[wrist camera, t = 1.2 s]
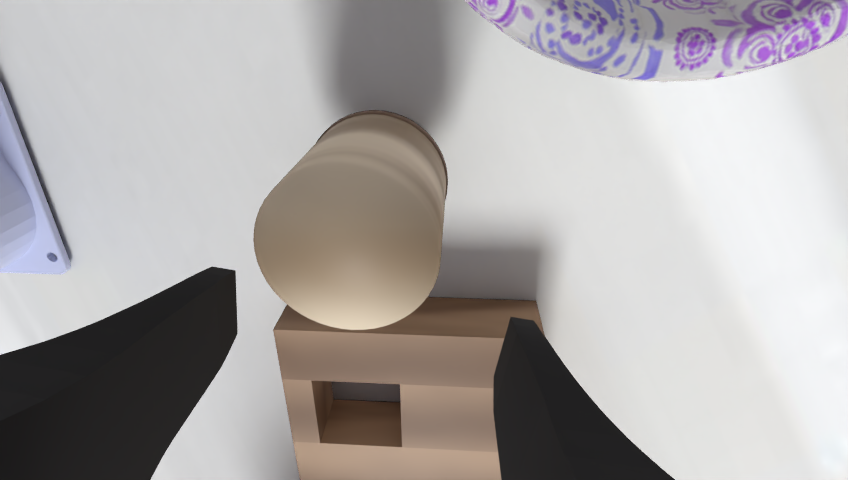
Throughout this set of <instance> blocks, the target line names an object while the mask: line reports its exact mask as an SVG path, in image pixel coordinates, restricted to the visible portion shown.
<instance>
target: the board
mask: <svg viewBox="0 0 848 480" xmlns="http://www.w3.org/2000/svg"><path fill="white" fill-rule="evenodd" d="M510 317H516V318H522V319H528V320H534V321H535V323H536V324H537V326H538V327H539V329H540V330H541V332H542V333H543V335H544V331H543V327H542V323H541V319H540V315H539V311H538V307H537V302H536V301H529V300H499V299H468V298H438V297H427V298H426V299H425V301H424V302H423V303H422V304H421V305H420V306H419V307H418V308H417V309H416V310H415V311H413V312H412V313H411V314H409V315H408V316H406V317H405V318H403V319H401V320H399V321H397V322H395V323H392V324H389V325H387V326H383V327H379V328H374V329H366V330H349V329H340V328H335V327H330V326H327V325H324V324H320V323H318V322H316V321H313V320H311V319H309V318H307V317H305V316H303V315H301V314H300V313H298V312H297V311H295V310H294V309H292V308H291V307H290V306H288V305H287V306H286V307H285V309H284V311H283V313H282V315H281V317H280V318H279V320H278V322H277V324H276V326H275V327H274V329H273V331H274V336H275V342H276V348H277V353H278V359H279V365H280V370H281V376H282V381H283V387H284V393H285V398H286V404H287V410H288V415H289V421H290V426H291V432H292V438H293V443H294V449H295V454H296V460H297V466H298V471H299V477H300V480H501V472H500V463H499V455H498V447H497V439H496V430H495V422H494V413H493V385H494V373H495V370H496V366H497V363H498V359H499V356H500V352H501V349H502V345H503V342H504V338H505V335H506V331H507V328H508V324H509V320H510ZM544 336H545V335H544ZM332 381H335V382H358V383H380V384H400V402H401V403H399V402H377V401H356V400H334V398H333V390H332Z"/></svg>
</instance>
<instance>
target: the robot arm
mask: <svg viewBox="0 0 848 480" xmlns="http://www.w3.org/2000/svg"><path fill="white" fill-rule="evenodd" d="M0 114H1V115H0V272H1V273H32V274H64V273H65V272H66V271H68V270H69V269H70V267H71V264H70V261H69V258H68V255H67V253H66V250H65V247H64V245H63V242H62V240H61V237H60V234H59V232H58V229H57V226H56V224H55V221H54V219H53V216H52V213H51V211H50V208H49V206H48V203H47V200H46V198H45V195H44V192H43V190H42V187H41V185H40V182H39V179H38V177H37V174H36V171H35V169H34V166H33V164H32V161H31V158H30V156H29V153H28V150H27V148H26V145H25V143H24V140H23V137H22V135H21V132H20V129H19V127H18V124H17V122H16V119H15V116H14V114H13V111H12V108H11V106H10V103H9V101H8V98H7V95H6V93H5V90H4V87H3V85H2V83H1V82H0ZM53 253H54V254H55V255H56V256H57V257H56V256H54V254H53ZM236 335H237V306H236V276H235V270H229V269H223V268H217V267H210V268H208V269H206V270H204V271H201V272H199V273H197V274H195V275H193V276H191V277H189V278H187V279H185V280H184V281H182V282H180V283H178V284H176V285H174V286H172V287H170V288H168V289H166V290H164V291H162V292H160V293H158V294H156V295H154V296H152V297H150V298H148V299H146V300H144V301H142V302H140V303H138V304H136V305H133V306H131V307H129V308H127V309H125V310H122V311H120V312H118V313H116V314H114V315H111V316H109V317H107V318H105V319H103V320H100V321H98V322H95V323H93V324H91V325H88V326H86V327H83V328H81V329H78V330H75V331H73V332H70V333H67V334H64V335H62V336H59V337H56V338H53V339H50V340H48V341H45V342H41V343H38V344H35V345H32V346H28V347H25V348H22V349H19V350H15V351H12V352H9V353H5V354H2V355H0V480H150V479H151V477H152V475H153V474H154V472H155V470H156V468H157V466H158V464H159V462H160V460H161V459H162V457H163V455H164V453H165V452H166V450H167V448H168V447H169V445H170V443H171V442H172V440H173V439H174V437H175V436H176V434H177V433H178V431H179V430H180V428H181V427H182V425H183V424H184V422H185V421H186V419H187V418H188V416H189V415H190V413H191V412H192V410H193V409H194V407H195V406H196V404H197V403H198V401H199V400H200V398H201V397H202V395H203V394H204V392H205V391H206V389H207V388H208V386H209V385H210V383H211V382H212V380H213V379H214V377H215V376H216V374H217V373H218V371H219V370H220V368H221V366H222V364H223V362H224V361H225V359H226V357H227V355H228V353H229V350H230V348H231V346H232V344H233V342H234V340H235V338H236ZM493 413H494V422H495V430H496V439H497V447H498V455H499V463H500V472H501V480H675V479H673V478H672V477H671V476H670V475H669V474H667V473H666V472H665V471H664V470H663V469H661V468H660V467H659V466H658V465H657V464H656V463H655V462H653V461H652V460H651V459H650V458H649V457H648V456H647V455H645V454H644V453H643V452H642V451H641V450H640V449H639V448H638V447H637V446H636V445H635V444H633V443H632V442H631V441H630V440H629V439H628V438H627V437H626V436H625V435H624V434H623V433H622V432H621V431H620V430H619V429H618V428H617V427H616V426H615V425H614V424H613V423H612V421H611V420H610V419H609V418H608V417H607V416H606V415H605V414H604V413H603V412H602V411H601V410H600V409H599V407H598V406H597V405H596V404H595V403H594V402H593V400H592V399H591V398H590V397H589V396H588V394H587V393H586V392H585V391H584V390H583V388H582V387H581V386H580V385H579V383H578V382H577V381H576V380H575V378H574V377H573V376H572V374H571V373H570V372H569V370H568V369H567V368H566V366H565V365H564V364H563V362H562V361H561V359H560V358H559V356H558V355H557V354H556V352H555V351H554V349H553V348H552V346H551V345H550V343H549V342H548V340H547V339H546V337H545V336H544V335H543V333H542V332H541V330H540V329H539V327H538V326H537V324H536V323H535V321H534V320H528V319H522V318H516V317H510V320H509V324H508V328H507V331H506V335H505V338H504V342H503V345H502V349H501V352H500V356H499V359H498V363H497V366H496V370H495V373H494V385H493Z"/></svg>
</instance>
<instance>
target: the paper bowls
mask: <svg viewBox="0 0 848 480" xmlns="http://www.w3.org/2000/svg"><path fill="white" fill-rule="evenodd" d="M465 1H466V2H467V3H468V4H469V5H470V6H471V7H472V8H473V9H474V10H475V11H476V12H478V13H479V14H480V15H481V16H482V17H484V18H485V19H486V20H487V21H489V22H490V23H491V24H493V25H495V26H496V27H497V28H498V29H500V30H501V31H502V32H504V33H505V34H507V35H508V36H510V37H511V38H513V39H514V40H515V41H517V42H519V43H520V44H522V45H524V46H525V47H527V48H529V49H531V50H533V51H535V52H537V53H539V54H541V55H543V56H545V57H547V58H550V59H554V60H557V61H559V62H561V63H564V64H567V65H570V66H573V67H575V68H578V69H581V70H584V71H588V72H592V73H596V74H600V75H604V76H609V77H614V78H620V79H626V80H634V81H658V82H667V81H692V80H708V79H715V78H719V77H726V76H731V75H737V74H740V73H743V72H748V71H754V70H757V69H760V68H764V67H768V66H771V65H774V64H778V63H781V62H784V61H787V60H790V59H793V58H795V57H798V56H803V55H805V54H807V53H809V52H811V51H813V50H816V49H819V48H821V47H824V46H827V45H829V44H831V43H833V42H836V41H838V40H840V39H842V38H844V37H846V36H848V0H465Z"/></svg>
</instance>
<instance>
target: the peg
mask: <svg viewBox="0 0 848 480" xmlns="http://www.w3.org/2000/svg"><path fill="white" fill-rule="evenodd" d="M447 185H448V177H447V168H446V164H445V161H444V158H443V155H442V153H441V151H440V149H439V147H438V145H437V144H436V142H435V141H434V139H433V138H432V137H431V136H430V135H429V134H428V133H427V132H426V131H425V130H424V129H423V128H422V127H421V126H419V125H418V124H416V123H415V122H414V121H412V120H410V119H408V118H406V117H404V116H402V115H399V114H396V113H392V112H388V111H380V110H369V111H361V112H356V113H353V114H350V115H348V116H346V117H344V118H342V119H340V120H338V121H337V122H335V123H334V124H333V125H331V126H330V127H329V128H328V129H327V130H326V131H325V132H324V133H323V134H322V136H321V137H320V138H319V139H318V141H317V142H316V144H315V145H314V146H313V147H312V148H311V149H310V150H309V151H308V152H307V153H306V154H305V156H304V157H303V158H302V159H301V160H300V161H299V162H298V163H297V164H296V165H295V166H294V167H293V168H292V169H291V170H290V172H289V173H288V174H287V175H286V176H285V177H284V178H283V179H282V180H281V181H280V182H279V183H278V184H277V185H276V186H275V187H274V189H273V190H272V191H271V192H270V193H269V195H268V196H267V197H266V199H265V200H264V202H263V204H262V206H261V207H260V209H259V212H258V215H257V218H256V222H255V227H254V249H255V254H256V258H257V262H258V264H259V267H260V269H261V272H262V274H263V276H264V277H265V279H266V281H267V283H268V284H269V285H270V287H271V288H272V289H273V291H274V292H275V293H276V294H277V295H278V296H279V297H280V298H281V299H282V300H283V301H284V302H285V303H286V304H287V305H288V306H290V307H291V308H292V309H294V310H295V311H297V312H298V313H300V314H301V315H303V316H305V317H307V318H309V319H311V320H313V321H316V322H318V323H320V324H324V325H327V326H330V327H335V328H340V329H349V330H366V329H374V328H379V327H383V326H387V325H389V324H392V323H395V322H397V321H399V320H401V319H403V318H405V317H406V316H408V315H409V314H411V313H412V312H413V311H415V310H416V309H417V308H418V307H419V306H420V305H421V304H422V303H423V302H424V301H425V299H426V298H427V297H428V295H429V294H430V292H431V290H432V289H433V287H434V285H435V282H436V280H437V277H438V273H439V269H440V260H441V248H442V234H443V221H444V207H445V199H446V195H447Z"/></svg>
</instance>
